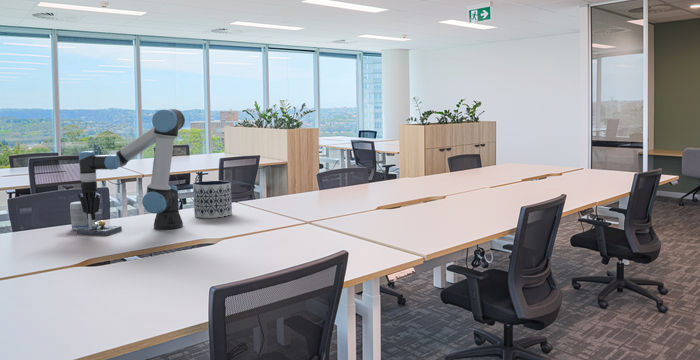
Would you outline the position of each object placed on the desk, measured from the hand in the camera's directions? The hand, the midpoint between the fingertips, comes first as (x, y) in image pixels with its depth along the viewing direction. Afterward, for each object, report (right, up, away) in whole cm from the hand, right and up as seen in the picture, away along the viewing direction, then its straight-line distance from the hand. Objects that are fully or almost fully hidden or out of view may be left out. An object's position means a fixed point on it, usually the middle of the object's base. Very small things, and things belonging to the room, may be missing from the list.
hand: (91, 225), depth 279 cm
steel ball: (+2, 0, -1) cm, 2 cm away
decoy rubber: (-1, +1, +5) cm, 6 cm away
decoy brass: (+3, +1, +4) cm, 5 cm away
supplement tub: (-11, -3, +12) cm, 17 cm away
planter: (+52, +2, +47) cm, 70 cm away
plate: (+4, -4, +1) cm, 5 cm away
